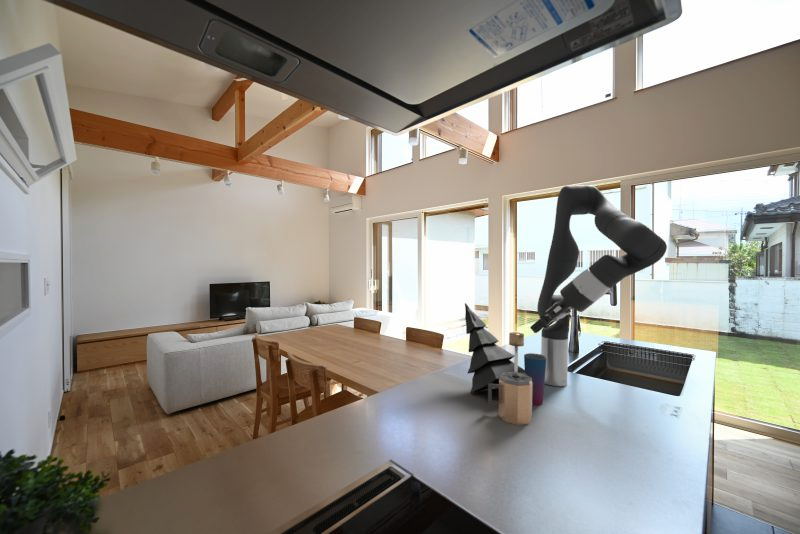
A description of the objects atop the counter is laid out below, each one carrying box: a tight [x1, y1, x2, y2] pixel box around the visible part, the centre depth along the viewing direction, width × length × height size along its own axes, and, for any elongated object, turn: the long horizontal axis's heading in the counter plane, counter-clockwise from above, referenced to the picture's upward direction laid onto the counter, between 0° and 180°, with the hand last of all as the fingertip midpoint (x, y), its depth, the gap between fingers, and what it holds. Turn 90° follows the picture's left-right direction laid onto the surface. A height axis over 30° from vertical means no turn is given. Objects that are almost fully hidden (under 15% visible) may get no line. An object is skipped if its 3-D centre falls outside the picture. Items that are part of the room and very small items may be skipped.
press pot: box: [487, 372, 533, 426], centre depth 98 cm, size 9×11×12 cm
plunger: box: [508, 331, 525, 378], centre depth 98 cm, size 4×4×18 cm
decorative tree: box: [464, 302, 525, 398], centre depth 121 cm, size 15×15×35 cm
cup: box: [523, 352, 546, 406], centre depth 110 cm, size 7×7×15 cm
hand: (537, 328), depth 94 cm, fingers open, 8 cm apart
